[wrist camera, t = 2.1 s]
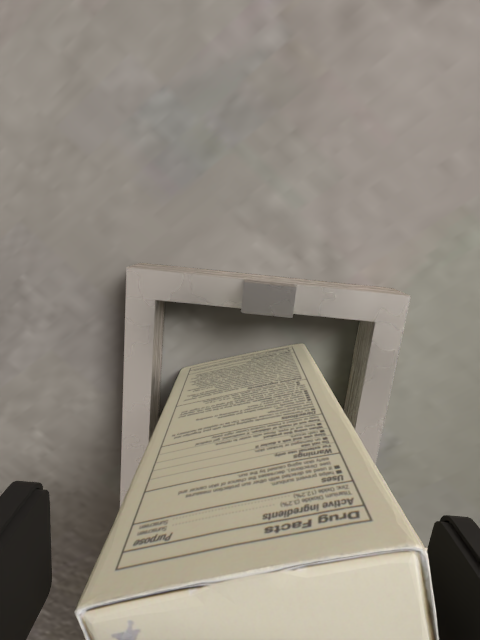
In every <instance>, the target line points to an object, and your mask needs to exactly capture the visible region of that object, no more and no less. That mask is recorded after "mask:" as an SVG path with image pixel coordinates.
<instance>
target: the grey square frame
mask: <svg viewBox="0 0 480 640" xmlns="http://www.w3.org/2000/svg"><path fill="white" fill-rule="evenodd" d="M410 297H411V296H410V295H407V294H405V293H403V292H400V291H398V290H395V289H393V288H386V287H376V286H366V285H356V284H346V283H337V282H327V281H317V280H307V279H297V278H287V277H277V276H267V275H257V274H247V273H238V272H228V271H218V270H208V269H198V268H188V267H178V266H168V265H158V264H148V263H138V264H135V265H132V266H129V267H127V269H126V305H125V341H124V377H123V413H122V449H121V485H120V507H121V505H122V503H123V500H124V498H125V495H126V493H127V491H128V489H129V487H130V484H131V482H132V479H133V477H134V475H135V473H136V470H137V468H138V465H139V463H140V461H141V459H142V457H143V455H144V452H145V450H146V448H147V446H148V443H149V441H150V439H151V436H152V434H153V432H154V429H155V427H156V425H157V423H158V420H159V403H160V384H161V365H162V346H163V327H164V308H165V301H172V302H182V303H192V304H202V305H212V306H222V307H231V308H241V313H248V314H258V315H268V316H278V317H288V318H293V314H301V315H311V316H321V317H331V318H341V319H351V320H359V326H358V332H357V337H356V343H355V348H354V354H353V359H352V365H351V371H350V376H349V382H348V387H347V393H346V398H345V404H344V410H343V411H344V413H345V414H346V416H347V418H348V419H349V421H350V422H351V424H352V426H353V428H354V429H355V431H356V433H357V435H358V436H359V438H360V440H361V441H362V443H363V445H364V447H365V448H366V450H367V452H368V454H369V455H370V457H371V459H372V460H373V462H374V464H376V460H377V455H378V450H379V445H380V441H381V436H382V431H383V426H384V421H385V417H386V412H387V407H388V402H389V398H390V393H391V388H392V383H393V378H394V374H395V369H396V364H397V359H398V355H399V350H400V345H401V340H402V335H403V331H404V326H405V321H406V316H407V312H408V307H409V302H410Z"/></svg>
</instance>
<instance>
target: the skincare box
mask: <svg viewBox="0 0 480 640" xmlns="http://www.w3.org/2000/svg"><path fill="white" fill-rule="evenodd" d="M75 615H76V617H77V620H78V622H79V624H80V626H81V629H82V631H83V633H84V637H85V640H439V636H438V626H437V617H436V608H435V601H434V594H433V588H432V581H431V573H430V566H429V559H428V554H427V551H426V549H425V547H424V545H423V544H422V542H421V540H420V539H419V537H418V535H417V534H416V532H415V531H414V529H413V527H412V526H411V524H410V523H409V521H408V519H407V518H406V516H405V514H404V513H403V511H402V509H401V507H400V506H399V504H398V502H397V501H396V499H395V498H394V496H393V494H392V493H391V491H390V489H389V487H388V486H387V484H386V482H385V480H384V479H383V477H382V475H381V474H380V472H379V470H378V469H377V467H376V465H375V464H374V462H373V460H372V459H371V457H370V455H369V454H368V452H367V450H366V448H365V447H364V445H363V443H362V441H361V440H360V438H359V436H358V435H357V433H356V431H355V429H354V428H353V426H352V424H351V422H350V421H349V419H348V418H347V416H346V414H345V413H344V411H343V409H342V408H341V406H340V404H339V403H338V401H337V399H336V397H335V396H334V394H333V392H332V391H331V389H330V387H329V386H328V384H327V382H326V380H325V379H324V377H323V375H322V373H321V372H320V370H319V368H318V367H317V365H316V363H315V361H314V360H313V358H312V356H311V355H310V353H309V351H308V350H307V348H306V346H305V345H304V344H301V343H300V344H294V345H288V346H283V347H277V348H272V349H267V350H262V351H257V352H253V353H248V354H243V355H238V356H233V357H228V358H224V359H219V360H215V361H210V362H206V363H201V364H197V365H193V366H189V367H185V368H182V369H181V370H180V372H179V375H178V377H177V379H176V381H175V384H174V386H173V388H172V391H171V393H170V395H169V398H168V400H167V403H166V405H165V407H164V409H163V411H162V414H161V416H160V418H159V420H158V423H157V425H156V427H155V429H154V432H153V434H152V436H151V439H150V441H149V443H148V446H147V448H146V450H145V452H144V455H143V457H142V459H141V461H140V463H139V465H138V468H137V470H136V473H135V475H134V477H133V479H132V482H131V484H130V487H129V489H128V491H127V493H126V495H125V498H124V500H123V503H122V505H121V507H120V509H119V512H118V514H117V516H116V519H115V521H114V523H113V525H112V528H111V530H110V532H109V535H108V537H107V539H106V541H105V544H104V546H103V548H102V550H101V552H100V555H99V557H98V559H97V561H96V564H95V566H94V568H93V571H92V573H91V575H90V577H89V580H88V582H87V584H86V586H85V588H84V591H83V593H82V595H81V597H80V600H79V602H78V604H77V607H76V609H75Z"/></svg>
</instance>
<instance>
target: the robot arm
mask: <svg viewBox="0 0 480 640" xmlns="http://www.w3.org/2000/svg"><path fill="white" fill-rule="evenodd" d="M427 554H428V559H429V566H430V573H431V581H432V588H433V594H434V601H435V608H436V617H437V626H438V636H439V640H480V528H479V527H478V526H477V525H476V523H475V522H474V521H473V520H472V519H471V518H468V517H460V516H447V515H446V516H443V517H442V518H441V520H440V521H437V522H436V523H435V524H434V527H433V530H432V534H431V538H430V542H429V545H428V549H427ZM51 582H52V568H51V534H50V501H49V492H48V490H43V486H42V484H41V483H36V482H24V481H15V482H13V483H12V484H11V485H10V486H9V487H8V488H7V489H6V490H5V491H4V493H3V494H2V495H1V496H0V640H26V638H27V636H28V634H29V632H30V630H31V628H32V626H33V624H34V622H35V621H36V619H37V617H38V615H39V613H40V611H41V609H42V607H43V605H44V603H45V601H46V599H47V596H48V594H49V591H50V587H51Z"/></svg>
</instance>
